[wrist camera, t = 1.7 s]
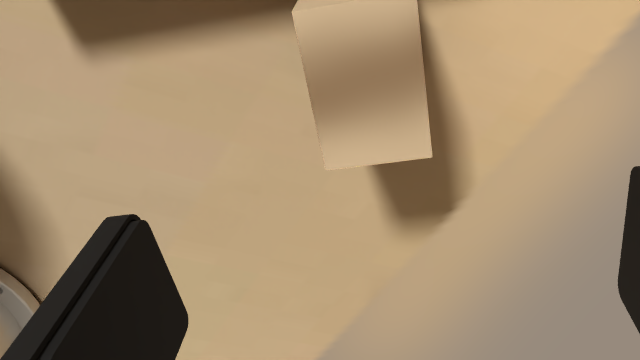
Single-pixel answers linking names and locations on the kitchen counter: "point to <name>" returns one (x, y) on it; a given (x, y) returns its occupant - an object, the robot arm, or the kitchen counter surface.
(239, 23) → the kitchen counter surface
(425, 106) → the beige upright block
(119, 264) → the robot arm
